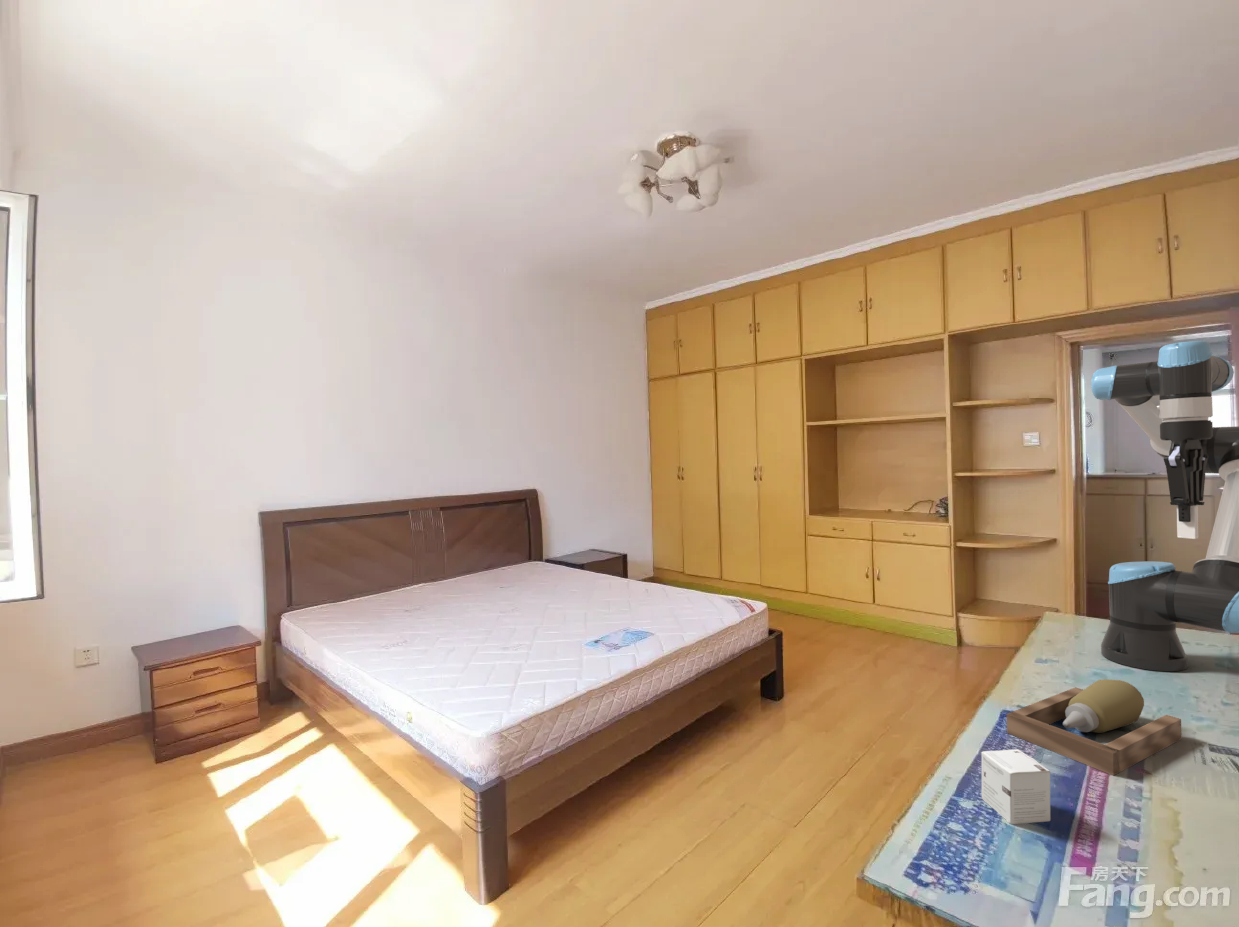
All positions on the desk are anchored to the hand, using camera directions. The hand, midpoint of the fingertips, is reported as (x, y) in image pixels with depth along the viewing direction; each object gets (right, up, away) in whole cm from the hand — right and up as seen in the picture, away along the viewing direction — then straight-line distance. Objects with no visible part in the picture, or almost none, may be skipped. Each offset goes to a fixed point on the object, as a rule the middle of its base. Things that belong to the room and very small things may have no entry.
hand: (1187, 537), depth 116 cm
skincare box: (-57, -35, -33) cm, 75 cm away
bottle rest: (-29, -34, -13) cm, 46 cm away
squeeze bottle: (-19, -29, -7) cm, 35 cm away
